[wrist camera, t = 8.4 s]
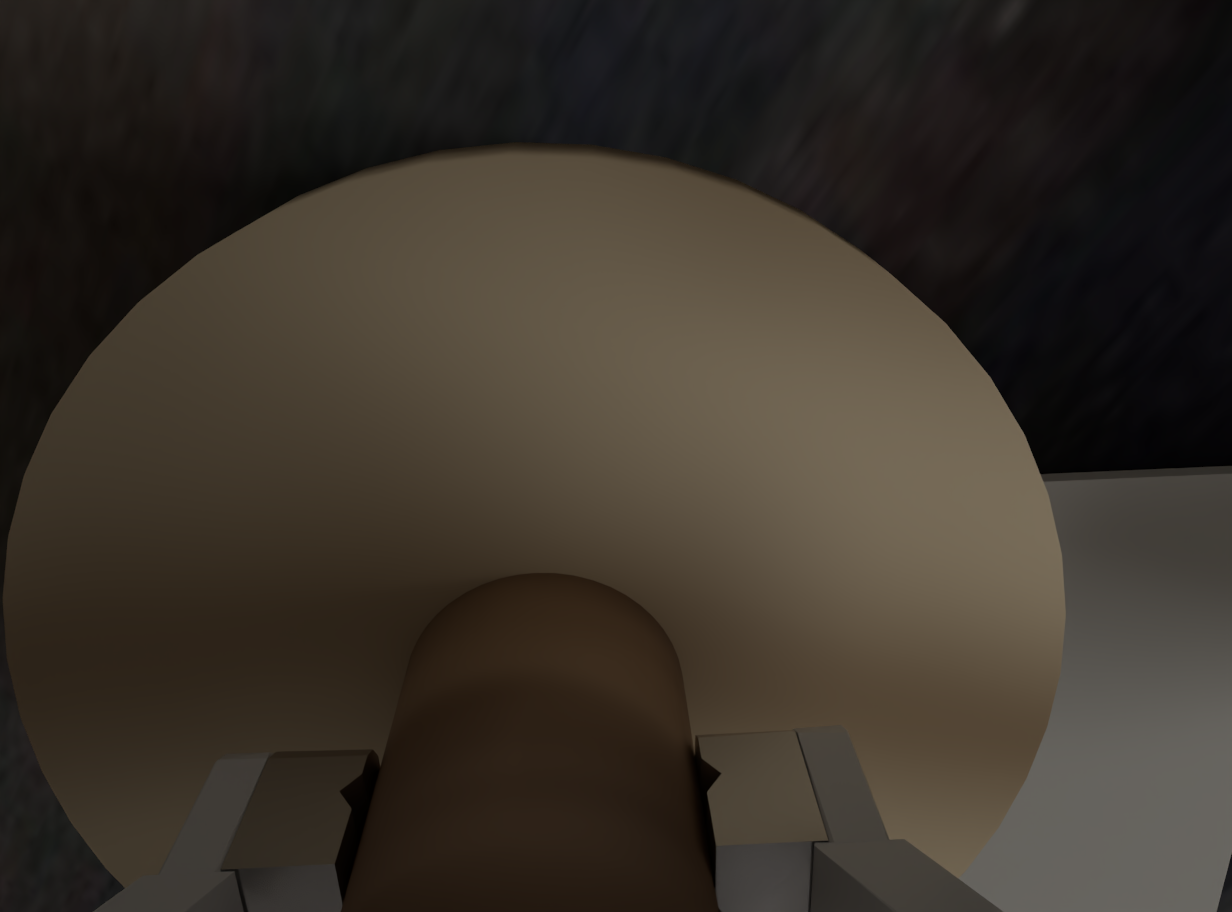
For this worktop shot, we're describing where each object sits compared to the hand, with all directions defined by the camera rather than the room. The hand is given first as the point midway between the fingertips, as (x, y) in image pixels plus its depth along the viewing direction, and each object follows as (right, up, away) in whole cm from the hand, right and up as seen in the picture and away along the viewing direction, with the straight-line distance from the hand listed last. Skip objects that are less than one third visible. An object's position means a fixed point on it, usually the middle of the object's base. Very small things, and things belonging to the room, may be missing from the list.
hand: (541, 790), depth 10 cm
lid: (0, +1, +2) cm, 3 cm away
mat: (+11, -4, +15) cm, 19 cm away
